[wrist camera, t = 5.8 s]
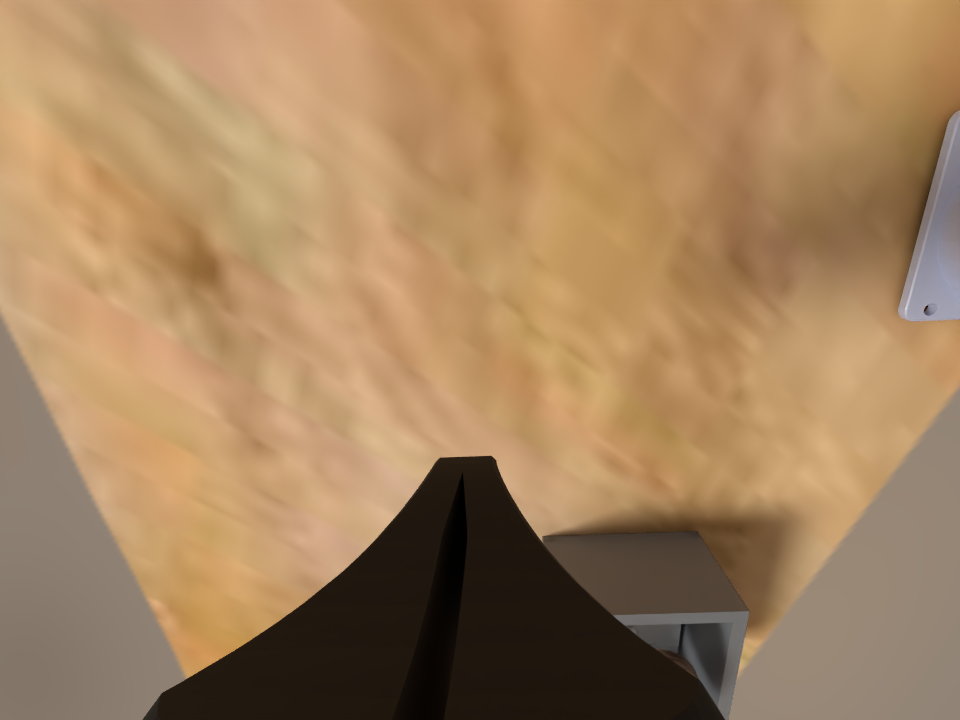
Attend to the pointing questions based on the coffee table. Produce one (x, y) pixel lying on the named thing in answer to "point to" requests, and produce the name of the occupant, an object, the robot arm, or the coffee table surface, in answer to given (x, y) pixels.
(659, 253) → the coffee table surface
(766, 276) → the coffee table surface
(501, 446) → the coffee table surface
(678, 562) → the open grey square tray
